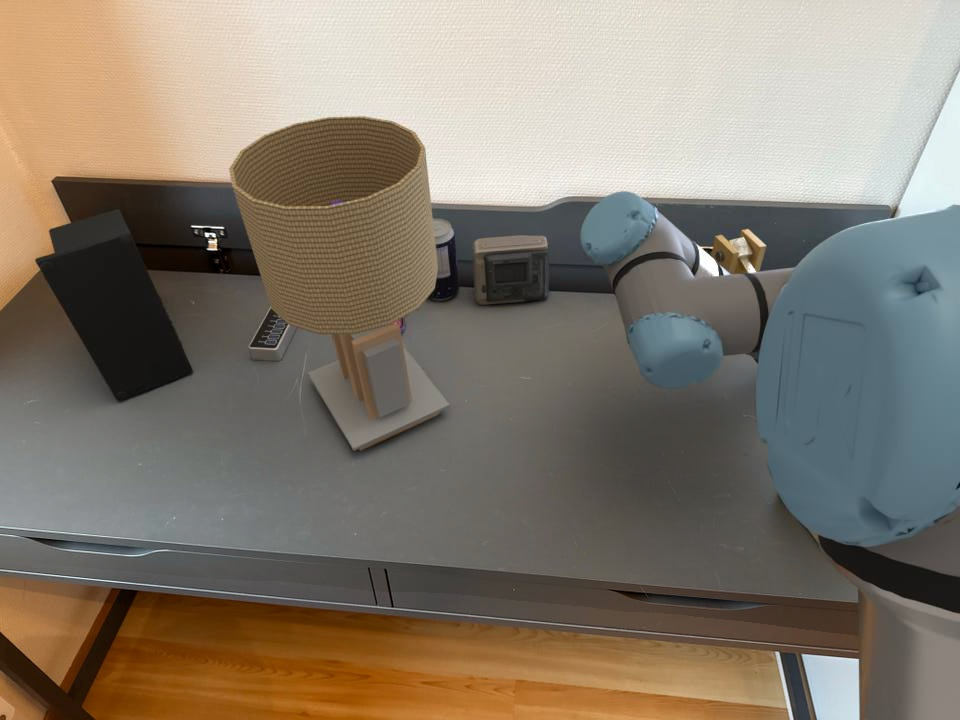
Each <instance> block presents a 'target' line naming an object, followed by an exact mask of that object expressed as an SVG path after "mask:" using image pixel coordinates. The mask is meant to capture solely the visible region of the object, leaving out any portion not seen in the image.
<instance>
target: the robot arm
mask: <svg viewBox="0 0 960 720" xmlns="http://www.w3.org/2000/svg"><path fill="white" fill-rule="evenodd" d="M579 236H580V245H581V249H582V250H583V252H584V253H585V254H586V255H587V256H588V257H589V258H590V259H591V260H592V261H593V263H594V264H595V265H597V266H598V267H602V268H603V269H604V270H605V271H606V274H607V276H608V279H609V283H610V287H611V289H612V292H613V294H614V296H615V299H616V303H617V306H618V310H619V313H620V316H621V320H622V325H623V327H624V331H625V334H626V335H625V336H626V343H627V344H628V347H629V349H630V350H631V352H632V355H633V358H634V360H635V363H636V364H637V367H638V370H639V372H640V374H641V376H642V378H643V379H644V380H645V381H646V382H647V383H649V384H650V385H652V386H655V387H658V388H661V389H665V390H666V389H667V390H668V389H669V390H671V389H672V390H675V389H677V390H678V389H683V388H687V387H689V386H690V385H691V384H694V383H702V382H704V381H705V380H707V379H709V378H710V377H711V376H713V375H714V374H715V373H716V372H717V371H718V370H719V369H720V367H721V365H722V363H723V359H724V357H727V356H736V355H744V354H745V355H748V356H749V357H752V359H753V360H754V361H755V363H756V364H757V369H756V379H755V405H756V406H755V407H756V408H755V409H756V411H755V412H756V422H757V428H758V436H759V441H760V442H762V443H763V444H765V445H767V456H766V459H765V465H766V469H767V471H768V474H769V476H770V478H771V481H772V484H773V487H774V488H775V490H776V493H777V494H778V496H779V497H780V499H781V501H782V502H783V504H784V507H786V509H787V510H788V511H789V513H790V514H791V515H792V516H793V517H794V518H795V519H796V520H797V521H798V522H799V523H801V525H803V527H805V528H806V529H807V528H808V529H809V530H811V531H812V532H814V533H816V534H818V542H817V544H818V548H819V550H820V552H821V555H822V556H823V557H824V559H825V560H826V562H827V563H828V564H829V565H831V567H832V568H834V569H835V571H837V572H838V573H839V574H840V575H842V576H843V577H844V578H845V579H846V580H847V581H849V582H850V583H851V584H852V585H854V587H856V588H857V621H858V622H857V623H858V624H857V625H858V627H857V629H858V631H857V632H858V633H857V634H858V636H857V637H858V638H857V639H858V705H859V707H858V708H859V711H858V712H859V715H858V717H859V720H960V204H955V203H953V204H952V205H950V206H947V207H945V208H940V209H939V208H938V209H935V210H927V211H923V212H920V213H919V212H918V213H913V214H908V215H902V216H897V217H892V218H887V219H881V220H875V221H870V222H865V223H861V224H858V225H857V224H856V225H854V226H851V227H848V228H846V229H843V230H841V231H838V232H836V233H834V234H833V235H831V236H830V237H827V239H824V240H823V241H822V242H820V243H819V244H818V245H816V246H815V247H814V248H812V249H811V251H809V252H808V253H807V254H806V255H805V257H803V258H802V259H801V260H800V262H799V263H798V264H797V265H796V266H794V267H788V268H787V267H786V268H779V269H778V268H777V269H769V270H762V271H761V270H760V271H759V272H753V273H740V274H732V275H731V274H730V273H729V272H728V271H726V270H725V269H724V268H723V267H722V266H721V265H719V264H718V263H717V262H716V261H715V260H714V259H713V258H712V257H711V255H710V254H709V253H707V251H705V250H704V249H703V248H702V247H701V246H700V245H698V244H697V242H695V241H694V240H692V239H690V238H689V237H688V236H687V235H685V234H684V233H683V232H682V231H681V230H680V229H679V228H678V227H677V226H676V225H674V224H673V223H672V222H671V221H670V220H668V218H667V217H665V216H664V215H663V214H662V213H661V212H659V211H658V208H657V207H656V206H655V205H653V204H651V203H650V202H648V201H647V200H645V199H643V197H641V196H639V195H637V193H634V192H631V191H624V190H623V191H616V192H612V193H610V194H608V195H606V196H605V197H603V199H602V200H601V201H599V202H598V203H596V204H595V205H594V206H593V207H592V208H591V209H590V211H589V212H588V213H587V215H586V217H585V218H584V221H583V223H582V226H581V229H580V235H579ZM808 529H807V530H808ZM809 530H808V531H809Z"/></svg>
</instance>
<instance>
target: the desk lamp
mask: <svg viewBox="0 0 960 720" xmlns="http://www.w3.org/2000/svg"><path fill="white" fill-rule="evenodd" d="M426 153H427V152H426V147H425V145H424V143H423V142H422V140H421V139H420V137H419V135H418V134H417V133H416V131H414V130H411V129H410V128H407V127H405V126H403V125H402V124H399V123H397V122H396V121H392V120H388V119H382V118H375V117H371V116H363V115H358V116H357V115H356V116H328V117H327V116H326V117H322V118H317V119H311V120H305V121H301V122H296V123H293V124H290V125H287V126H285V127H281V128H279V129H277V130H275V131H271V132H269V133H266V134H263V135H262V136H261V137H259V138H258V139H256V140H254V141H253V142H252V143H250V144H248V145H247V146H246V147H244V148H243V149H241V150H240V151H239V153H238V154H237V156H236V158H235V159H234V160H233V162H232V164H230V166H229V168H228V171H229V176H230V181H231V187H232V191H233V193H234V196H235V199H236V203H237V207H238V209H239V212H240V215H241V218H242V221H243V225H244V228H245V230H246V234H247V237H248V240H249V243H250V247H251V249H252V252H253V255H254V259H255V262H256V265H257V268H258V271H259V274H260V277H261V281H262V283H263V287H264V290H265V293H266V297H267V300H268V303H269V306H270V307H271V309H272V310H273V311H274V312H275V313H276V314H277V315H279V316H280V317H281V318H282V319H283V320H284V321H285V322H286V323H288V324H289V325H291V326H294V327H297V329H301V330H305V331H308V332H311V333H313V334H317V335H331V338H332V342H333V346H334V349H335V353H336V354H335V355H336V358H337V360H334V361H333V362H330V363H328V364H325V365H323V366H321V367H318V368H316V369H313V370H311V371H308V372H307V375H308V377H309V379H310V380H311V382H312V384H313V385H314V387H315V389H316V391H317V392H318V394H319V395H320V397H321V399H322V400H323V403H324V404H325V405H326V407H327V409H328V410H329V412H330V414H331V415H332V417H333V419H334V420H335V422H336V424H337V425H338V427H339V429H340V431H341V432H342V433H343V434H342V435H344V437H345V439H346V440H347V443H348V444H349V445H350V448H351V449H352V451H353V452H356V451H358V450H359V451H360V452H361V451H363V450H365V449H368V448H369V447H372V446H374V445H376V444H378V443H381V442H383V441H385V440H387V439H389V438H391V437H393V436H396V435H398V434H401V433H403V432H405V431H407V430H409V429H411V428H413V427H416V426H418V425H420V424H422V423H424V422H426V421H428V420H431V419H432V418H435V417H438V416H439V415H440V412H443V411H445V410H446V409H449V408H450V407H451V406H450V403H449V402H448V400H447V399H446V397H444V396H443V394H442V393H441V392H440V391H439V389H438V388H437V386H436V385H435V384H434V383H433V382H432V380H431V379H430V378H429V376H428V375H427V374H426V373H425V372H424V370H423V369H422V368H421V366H420V365H419V363H418V362H417V361H416V360H415V358H414V357H413V355H411V353H410V352H409V350H407V348H406V347H405V346H404V343H403V337H402V332H401V330H400V327H399V325H398V324H397V323H396V324H393V323H394V322H396V321H398V320H400V319H401V318H403V317H404V318H405V317H406V316H409V315H410V314H412V313H414V312H415V311H418V309H420V307H421V306H422V305H424V303H425V302H426V300H427V299H428V298H429V297H428V296H429V295H430V294H431V293H432V292H433V291H434V289H435V284H436V278H437V272H438V263H437V254H436V245H435V235H434V226H433V219H434V217H433V210H432V209H433V208H432V200H431V191H430V190H431V189H430V181H429V172H428V161H427V154H426ZM391 324H393V325H391ZM389 325H391V326H389Z"/></svg>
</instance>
